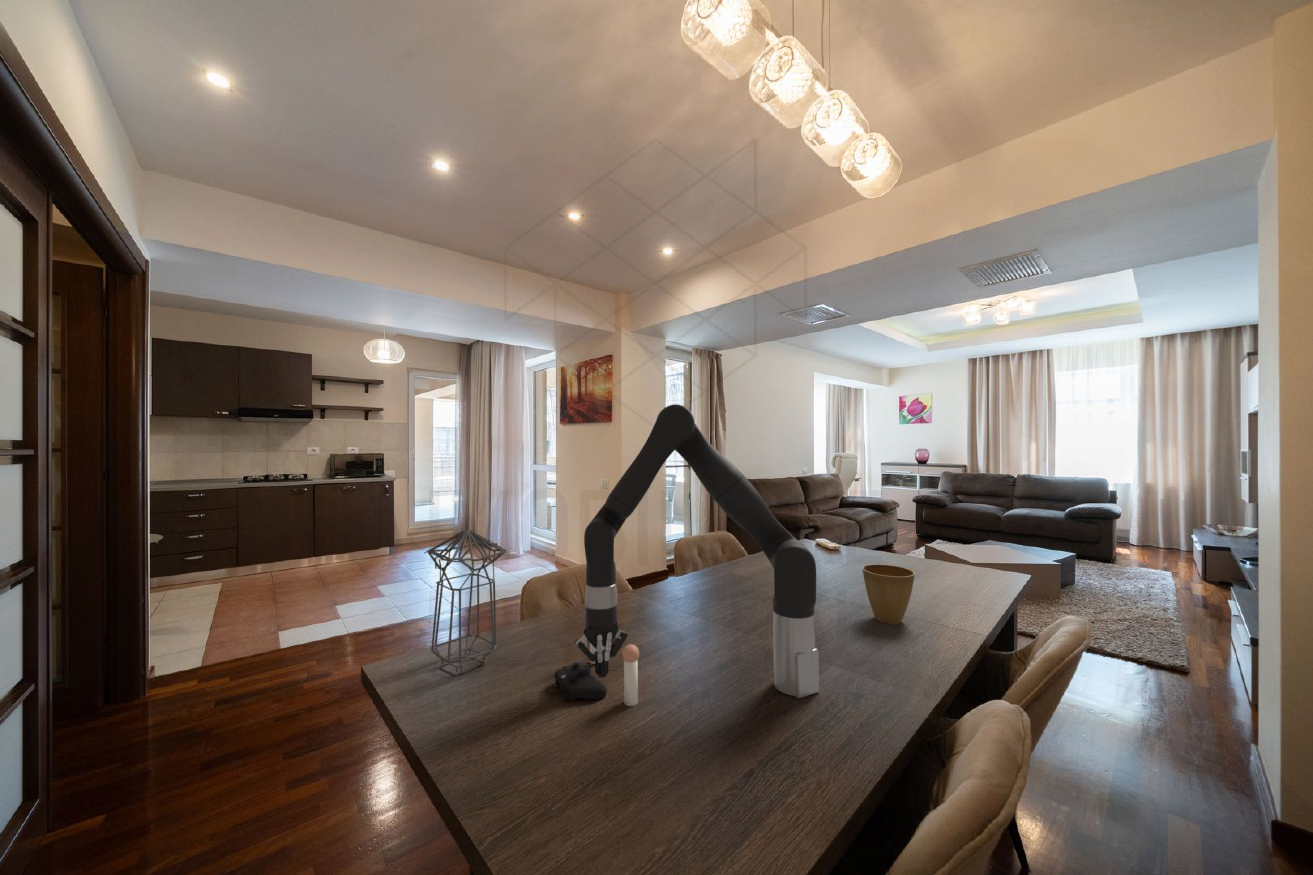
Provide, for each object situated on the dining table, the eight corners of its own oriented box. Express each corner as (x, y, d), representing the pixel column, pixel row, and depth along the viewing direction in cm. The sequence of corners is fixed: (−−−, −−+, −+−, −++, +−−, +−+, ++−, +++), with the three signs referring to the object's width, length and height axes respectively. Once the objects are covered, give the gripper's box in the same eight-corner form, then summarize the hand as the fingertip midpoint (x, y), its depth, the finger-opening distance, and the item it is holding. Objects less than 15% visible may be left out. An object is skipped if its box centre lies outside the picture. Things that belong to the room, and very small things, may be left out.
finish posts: (642, 704, 103) (642, 646, 103) (626, 708, 101) (626, 650, 102) (600, 657, 126) (599, 610, 126) (586, 661, 124) (586, 613, 124)
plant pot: (866, 626, 146) (865, 574, 146) (860, 610, 160) (859, 562, 160) (920, 631, 141) (919, 577, 142) (910, 614, 156) (908, 565, 156)
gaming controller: (611, 678, 106) (568, 680, 102) (607, 706, 106) (563, 709, 101) (591, 654, 119) (552, 654, 115) (587, 679, 118) (547, 680, 114)
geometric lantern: (475, 648, 133) (478, 523, 134) (507, 665, 123) (510, 530, 124) (418, 667, 121) (421, 530, 122) (448, 688, 111) (452, 538, 112)
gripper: (579, 611, 107) (580, 690, 106) (633, 602, 113) (633, 676, 112) (569, 602, 113) (570, 675, 113) (620, 593, 119) (621, 663, 119)
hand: (602, 675), depth 113 cm, fingers closed
